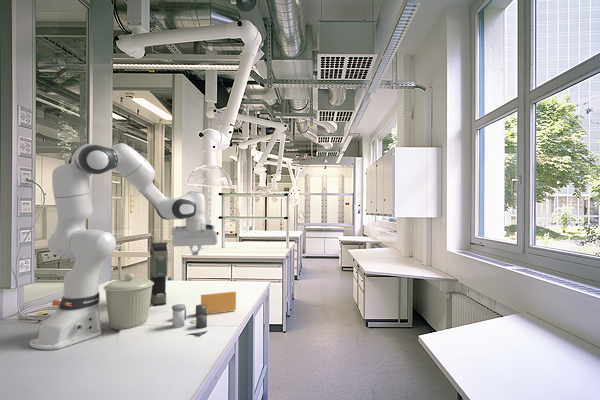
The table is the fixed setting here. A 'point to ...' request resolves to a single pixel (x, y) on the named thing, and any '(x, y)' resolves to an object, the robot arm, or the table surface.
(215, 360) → the table surface
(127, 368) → the table surface
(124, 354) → the table surface
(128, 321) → the canister
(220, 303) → the tan wooden plank
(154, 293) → the device
